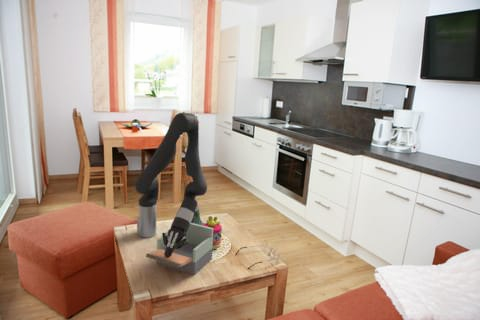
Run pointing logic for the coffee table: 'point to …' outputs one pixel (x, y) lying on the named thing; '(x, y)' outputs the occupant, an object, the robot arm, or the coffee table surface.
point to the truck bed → (193, 248)
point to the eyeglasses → (266, 250)
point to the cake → (215, 231)
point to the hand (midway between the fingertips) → (166, 256)
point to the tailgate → (173, 260)
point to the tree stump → (197, 217)
